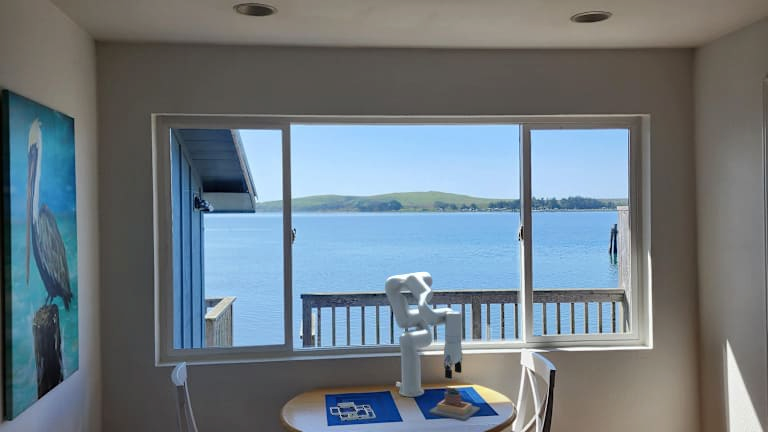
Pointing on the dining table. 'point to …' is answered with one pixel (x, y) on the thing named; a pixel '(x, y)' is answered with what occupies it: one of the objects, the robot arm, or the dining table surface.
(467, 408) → the tan recessed tray
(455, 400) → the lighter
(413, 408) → the dining table surface
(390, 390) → the dining table surface
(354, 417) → the floor plan model
